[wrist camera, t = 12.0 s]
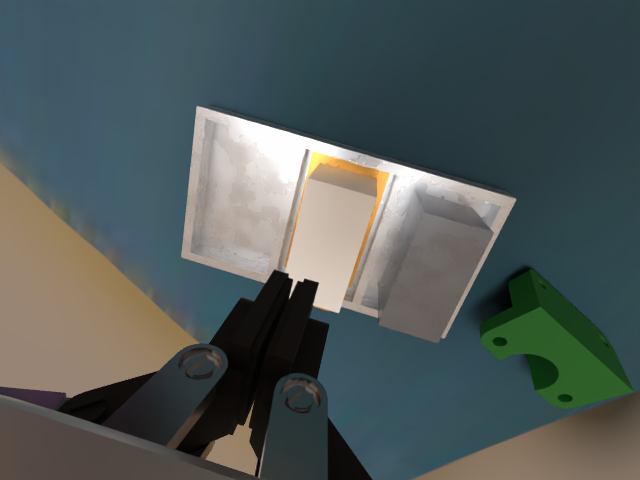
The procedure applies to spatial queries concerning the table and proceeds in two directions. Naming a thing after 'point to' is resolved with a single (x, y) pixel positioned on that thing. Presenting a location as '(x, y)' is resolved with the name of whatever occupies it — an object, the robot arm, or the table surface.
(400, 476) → the table surface
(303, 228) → the cream upright block
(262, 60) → the table surface
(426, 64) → the table surface
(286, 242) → the grey compartment tray
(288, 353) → the robot arm
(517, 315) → the clamp
